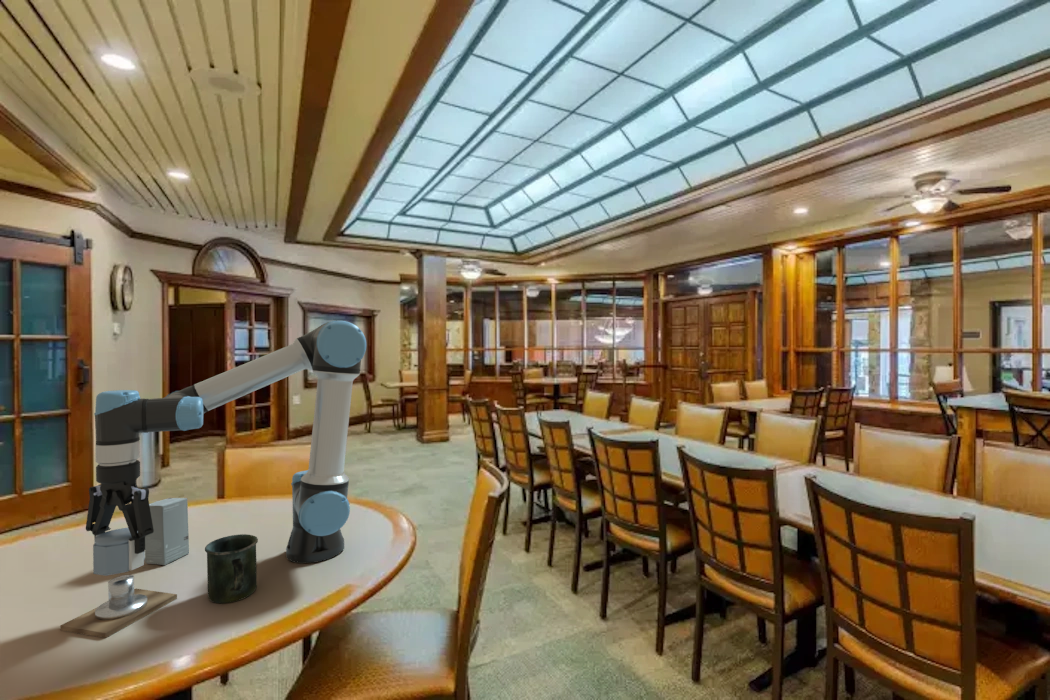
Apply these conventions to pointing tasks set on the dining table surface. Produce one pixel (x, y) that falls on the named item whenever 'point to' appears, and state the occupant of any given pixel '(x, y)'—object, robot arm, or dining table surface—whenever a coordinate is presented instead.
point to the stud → (121, 599)
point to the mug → (231, 568)
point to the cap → (112, 552)
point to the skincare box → (167, 531)
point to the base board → (108, 627)
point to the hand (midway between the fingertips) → (119, 565)
